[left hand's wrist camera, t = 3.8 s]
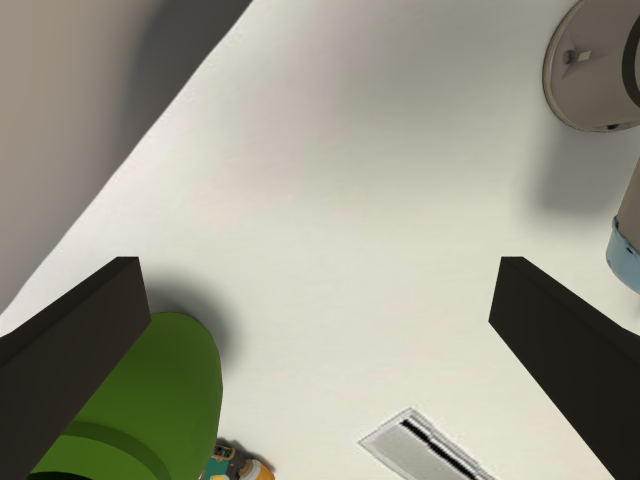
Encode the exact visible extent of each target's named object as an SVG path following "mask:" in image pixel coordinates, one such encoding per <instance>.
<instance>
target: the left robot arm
mask: <svg viewBox="0 0 640 480" xmlns="http://www.w3.org/2000/svg"><path fill="white" fill-rule="evenodd" d="M543 83H544V90H545V95H546V98H547V101H548V103H549V105H550V107H551V109H552V110H553V112H554V113H555V114H556V116H557V117H558V118H559V119H560V120H562V121H563V122H564V123H566V124H567V125H569V126H571V127H573V128H576V129H579V130H583V131H591V132H613V131H619V130H624V129H628V128H631V127H634V126H638V125H640V0H581V1H580V2H579V3H578V4H577V5H576V6H575V7H574V8H573V9H572V10H571V11H570V12H569V13H568V14H567V16H566V17H565V18H564V20H563V21H562V22H561V24H560V25H559V27H558V29H557V30H556V32H555V34H554V36H553V38H552V40H551V43H550V45H549V48H548V51H547V54H546V58H545V63H544V72H543ZM612 228H613V230H612V234H611V237H610V240H609V243H608V246H607V250H606V260H607V263H608V265H609V267H610V268H611V269H612V271H613V273H614V274H615V276H616V277H617V278H618V279H619V280H621V281H622V282H623V283H624V284H625V285H627V286H628V287H629V288H631V289H632V290H633V291H635V292H637V293H638V294H640V158H639V160H638V163H637V165H636V168H635V170H634V173H633V176H632V178H631V181H630V183H629V186H628V188H627V191H626V193H625V196H624V199H623V201H622V204H621V206H620V209H619V211H618V214H617V215H616V216H615V217H614V219H613V221H612ZM151 322H152V321H151V316H150V311H149V306H148V301H147V296H146V291H145V286H144V281H143V277H142V272H141V267H140V262H139V257H116V258H115V259H113V260H112V261H110V262H109V263H108V264H106V265H105V266H103V267H102V268H101V269H99V270H98V271H96V272H95V273H94V274H92V275H91V276H89V277H88V278H87V279H85V280H84V281H82V282H81V283H80V284H78V285H77V286H75V287H74V288H73V289H71V290H70V291H68V292H67V293H66V294H64V295H63V296H61V297H60V298H59V299H57V300H56V301H54V302H53V303H52V304H50V305H49V306H47V307H46V308H44V309H43V310H42V311H40V312H39V313H37V314H36V315H35V316H33V317H32V318H30V319H29V320H28V321H26V322H25V323H23V324H22V325H21V326H19V327H18V328H16V329H15V330H14V331H12V332H11V333H9V334H7V335H5V336H2V337H0V480H25V479H26V477H27V476H28V475H29V474H30V473H31V471H32V470H33V469H34V468H35V466H36V465H37V464H38V463H39V461H40V460H41V459H42V458H43V456H44V455H45V454H46V453H47V451H48V450H49V449H50V448H51V446H52V445H53V444H54V443H55V441H56V440H57V439H58V438H59V436H60V435H61V434H62V433H63V431H64V430H65V429H66V428H67V426H68V425H69V424H70V423H71V421H72V420H73V419H74V418H75V416H76V415H77V414H78V413H79V412H80V410H81V409H82V408H83V407H84V405H85V404H86V403H87V402H88V400H89V399H90V398H91V397H92V395H93V394H94V393H95V392H96V390H97V389H98V388H99V387H100V385H101V384H102V383H103V382H104V380H105V379H106V378H107V377H108V375H109V374H110V373H111V372H112V370H113V369H114V368H115V367H116V365H117V364H118V363H119V362H120V360H121V359H122V358H123V357H124V355H125V354H126V353H127V352H128V350H129V349H130V348H131V347H132V346H133V344H134V343H135V342H136V341H137V339H138V338H139V337H140V336H141V334H142V333H143V332H144V331H145V329H146V328H147V327H148V326H149V324H150V323H151ZM488 322H489V323H490V324H491V326H492V327H493V328H494V329H495V331H496V332H497V333H498V334H499V336H500V337H501V338H502V339H503V341H504V342H505V343H506V344H507V346H508V347H509V348H510V349H511V350H512V352H513V353H514V354H515V355H516V357H517V358H518V359H519V360H520V362H521V363H522V364H523V365H524V367H525V368H526V369H527V370H528V372H529V373H530V374H531V375H532V377H533V378H534V379H535V380H536V382H537V383H538V384H539V385H540V387H541V388H542V389H543V390H544V392H545V393H546V394H547V395H548V397H549V398H550V399H551V400H552V402H553V403H554V404H555V405H556V407H557V408H558V409H559V410H560V412H561V413H562V414H563V415H564V416H565V418H566V419H567V420H568V421H569V423H570V424H571V425H572V426H573V428H574V429H575V430H576V431H577V433H578V434H579V435H580V436H581V438H582V439H583V440H584V441H585V443H586V444H587V445H588V446H589V448H590V449H591V450H592V451H593V453H594V454H595V455H596V456H597V458H598V459H599V460H600V461H601V463H602V464H603V465H604V466H605V468H606V469H607V470H608V471H609V473H610V474H611V475H612V476H613V477H614V479H615V480H640V336H639V335H637V334H634V333H632V332H630V331H628V330H626V329H624V328H622V327H621V326H619V325H618V324H617V323H615V322H614V321H612V320H611V319H610V318H608V317H607V316H605V315H604V314H603V313H601V312H600V311H598V310H597V309H595V308H594V307H593V306H591V305H590V304H588V303H587V302H586V301H584V300H583V299H581V298H580V297H579V296H577V295H576V294H574V293H573V292H572V291H570V290H569V289H567V288H566V287H565V286H563V285H562V284H560V283H559V282H558V281H556V280H555V279H553V278H552V277H551V276H549V275H548V274H546V273H545V272H544V271H542V270H541V269H539V268H538V267H537V266H535V265H534V264H532V263H531V262H530V261H528V260H527V259H525V258H524V257H501V262H500V267H499V272H498V277H497V281H496V286H495V291H494V296H493V301H492V306H491V311H490V316H489V321H488Z"/></svg>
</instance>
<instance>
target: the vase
mask: <svg viewBox="0 0 640 480" xmlns="http://www.w3.org/2000/svg"><path fill="white" fill-rule="evenodd" d="M150 316H151V321H152V322H151V323H150V324H149V326H148V327H147V328H146V329H145V331H144V332H143V333H142V334H141V336H140V337H139V338H138V339H137V341H136V342H135V343H134V344H133V346H132V347H131V348H130V349H129V350H128V352H127V353H126V354H125V355H124V357H123V358H122V359H121V360H120V362H119V363H118V364H117V365H116V367H115V368H114V369H113V370H112V372H111V373H110V374H109V375H108V377H107V378H106V379H105V380H104V382H103V383H102V384H101V385H100V387H99V388H98V389H97V390H96V392H95V393H94V394H93V395H92V397H91V398H90V399H89V400H88V402H87V403H86V404H85V405H84V407H83V408H82V409H81V410H80V412H79V413H78V414H77V415H76V416H75V418H74V419H73V420H72V421H71V423H70V424H69V425H68V426H67V428H66V429H65V430H64V431H63V433H62V434H61V435H60V436H59V438H58V439H57V440H56V441H55V443H54V444H53V445H52V446H51V448H50V449H49V450H48V451H47V453H46V454H45V455H44V456H43V458H42V459H41V460H40V461H39V463H38V464H37V465H36V466H35V468H34V469H33V470H32V471H31V473H30V474H29V475H28V476H27V477H26V479H25V480H198V479H199V477H200V475H201V473H202V472H203V470H204V468H205V466H206V464H207V463H208V461H209V459H210V457H211V456H212V453H213V450H214V447H215V445H216V439H217V432H218V425H219V418H220V411H221V404H222V395H223V384H222V374H221V364H220V357H219V352H218V350H217V347H216V345H215V343H214V340H213V338H212V336H211V334H210V333H209V331H208V330H207V328H206V327H205V326H204V325H203V324H202V323H200V322H199V321H197V320H196V319H194V318H192V317H190V316H188V315H185V314H182V313H176V312H162V313H154V314H150Z"/></svg>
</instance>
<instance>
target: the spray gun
mask: <svg viewBox="0 0 640 480" xmlns="http://www.w3.org/2000/svg"><path fill="white" fill-rule="evenodd" d="M215 447H216V449H215V448H214V450H213V453H212V456H211V457H210V459H209V461H208V463H207V464H206V466H205V468H204V470H203V472H202V475H201V479H200V480H239V479H240V480H275V477H274V474H273V473H272V472H271V471H269V470H268V469H267V468H266V467H265V466H264V465H263V464H262V463H261V462H259V461H257V460H255V459H254V460H251V459H246V460H244V459H243V458H242V457H241V455H240V454H239V453H238V452H237V451H235V448H233V447H232V448H228V447H224V446H220V445H217V444H216V445H215ZM224 450H225V451H224ZM228 450H229V451H231V450H233V451H231V452H230V453H229V452H228ZM237 469H239V472H237ZM238 473H239V474H238Z"/></svg>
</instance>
